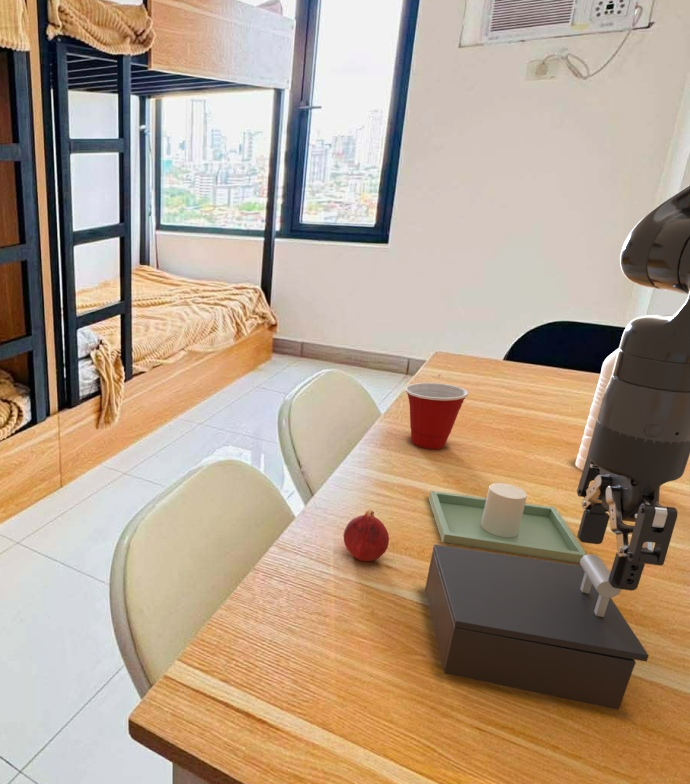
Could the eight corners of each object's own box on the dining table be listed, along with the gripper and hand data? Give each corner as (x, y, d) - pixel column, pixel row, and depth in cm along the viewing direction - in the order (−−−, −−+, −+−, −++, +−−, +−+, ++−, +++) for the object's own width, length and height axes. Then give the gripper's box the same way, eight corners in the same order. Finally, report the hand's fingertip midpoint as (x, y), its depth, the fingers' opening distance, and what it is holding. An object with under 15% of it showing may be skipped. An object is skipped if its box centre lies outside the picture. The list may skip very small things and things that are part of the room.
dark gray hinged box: (566, 620, 76) (580, 573, 74) (616, 716, 63) (636, 662, 61) (423, 595, 81) (432, 549, 79) (442, 679, 68) (454, 627, 65)
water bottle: (618, 482, 109) (661, 344, 100) (573, 472, 113) (610, 337, 104) (620, 465, 115) (659, 333, 107) (576, 455, 119) (611, 327, 110)
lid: (589, 572, 74) (600, 533, 72) (646, 662, 60) (662, 617, 59) (432, 549, 79) (439, 512, 77) (454, 627, 65) (463, 584, 64)
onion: (389, 575, 85) (398, 524, 82) (344, 571, 86) (352, 520, 83) (379, 551, 90) (387, 502, 87) (337, 547, 91) (344, 498, 88)
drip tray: (552, 518, 98) (555, 507, 97) (584, 569, 86) (588, 555, 85) (428, 501, 103) (430, 490, 102) (442, 546, 91) (444, 534, 90)
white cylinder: (512, 523, 96) (522, 485, 94) (521, 540, 91) (531, 500, 89) (477, 518, 97) (485, 480, 95) (484, 534, 93) (493, 495, 91)
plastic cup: (416, 430, 131) (425, 375, 127) (468, 448, 122) (480, 390, 118) (384, 442, 125) (393, 385, 121) (436, 462, 117) (448, 402, 113)
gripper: (736, 458, 54) (681, 612, 60) (656, 402, 67) (617, 533, 72) (632, 449, 56) (588, 598, 62) (574, 396, 69) (542, 523, 74)
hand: (604, 563), depth 67 cm, fingers open, 8 cm apart
